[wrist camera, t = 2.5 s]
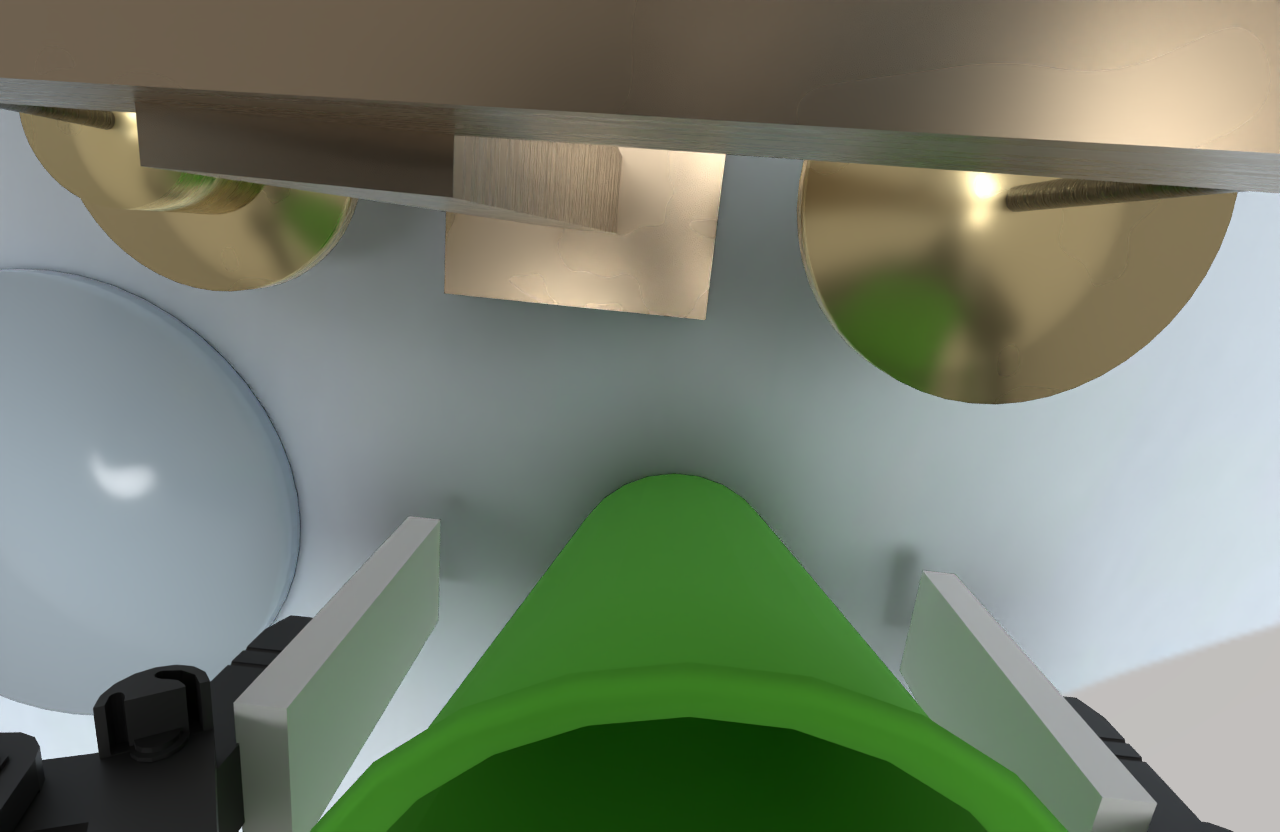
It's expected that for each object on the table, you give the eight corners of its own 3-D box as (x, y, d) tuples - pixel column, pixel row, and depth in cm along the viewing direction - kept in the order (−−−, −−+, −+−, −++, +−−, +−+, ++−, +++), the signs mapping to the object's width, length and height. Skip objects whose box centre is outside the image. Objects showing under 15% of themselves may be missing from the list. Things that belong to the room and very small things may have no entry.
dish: (-194, 245, 16) (-249, 245, 15) (291, 295, 16) (267, 298, 15) (-100, 668, 19) (-141, 690, 18) (307, 712, 19) (288, 737, 18)
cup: (813, 723, 19) (1013, 1371, 8) (495, 686, 19) (268, 1277, 8) (877, 418, 16) (1283, 750, 6) (514, 376, 16) (230, 626, 6)
